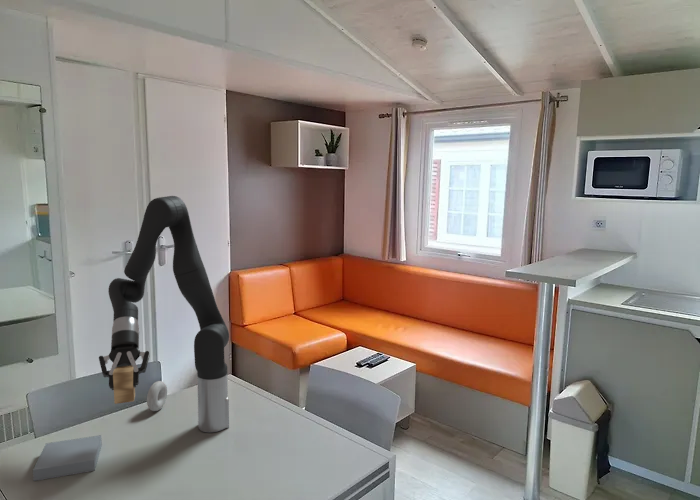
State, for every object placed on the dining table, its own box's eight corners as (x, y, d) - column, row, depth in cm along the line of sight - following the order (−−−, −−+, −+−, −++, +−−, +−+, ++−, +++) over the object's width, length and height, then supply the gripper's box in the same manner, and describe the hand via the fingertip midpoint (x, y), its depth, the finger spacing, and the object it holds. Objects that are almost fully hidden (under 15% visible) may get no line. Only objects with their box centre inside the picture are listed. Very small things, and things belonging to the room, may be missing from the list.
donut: (154, 416, 157) (153, 388, 156) (145, 416, 157) (144, 387, 156) (169, 403, 167) (168, 376, 166) (160, 403, 167) (159, 376, 166)
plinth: (101, 444, 139) (101, 435, 139) (94, 470, 126) (94, 460, 126) (46, 453, 134) (46, 443, 134) (33, 481, 121) (32, 470, 121)
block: (135, 394, 140) (133, 365, 139) (133, 401, 135) (132, 371, 134) (116, 396, 138) (114, 367, 137) (114, 403, 133) (112, 373, 132)
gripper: (97, 331, 139) (93, 386, 129) (150, 326, 144) (150, 378, 134) (100, 343, 144) (97, 396, 134) (151, 338, 149) (151, 389, 139)
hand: (123, 387), depth 134 cm, fingers closed on block, 5 cm apart
